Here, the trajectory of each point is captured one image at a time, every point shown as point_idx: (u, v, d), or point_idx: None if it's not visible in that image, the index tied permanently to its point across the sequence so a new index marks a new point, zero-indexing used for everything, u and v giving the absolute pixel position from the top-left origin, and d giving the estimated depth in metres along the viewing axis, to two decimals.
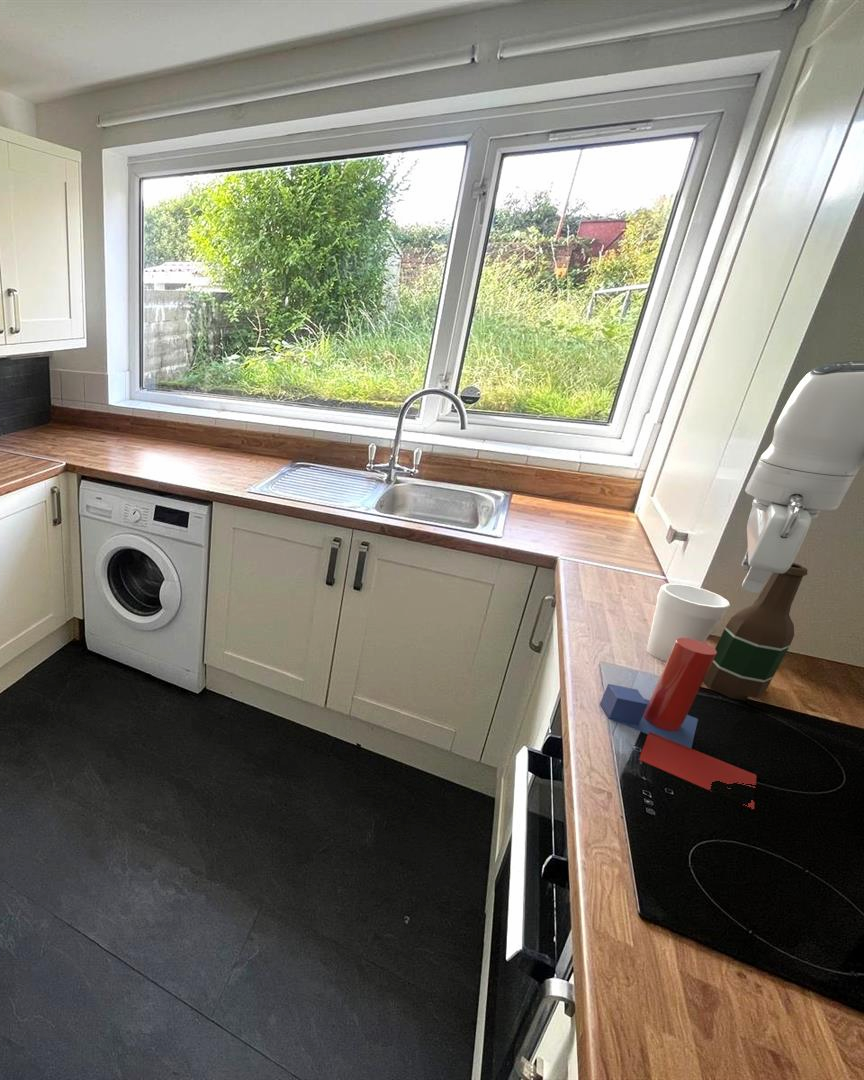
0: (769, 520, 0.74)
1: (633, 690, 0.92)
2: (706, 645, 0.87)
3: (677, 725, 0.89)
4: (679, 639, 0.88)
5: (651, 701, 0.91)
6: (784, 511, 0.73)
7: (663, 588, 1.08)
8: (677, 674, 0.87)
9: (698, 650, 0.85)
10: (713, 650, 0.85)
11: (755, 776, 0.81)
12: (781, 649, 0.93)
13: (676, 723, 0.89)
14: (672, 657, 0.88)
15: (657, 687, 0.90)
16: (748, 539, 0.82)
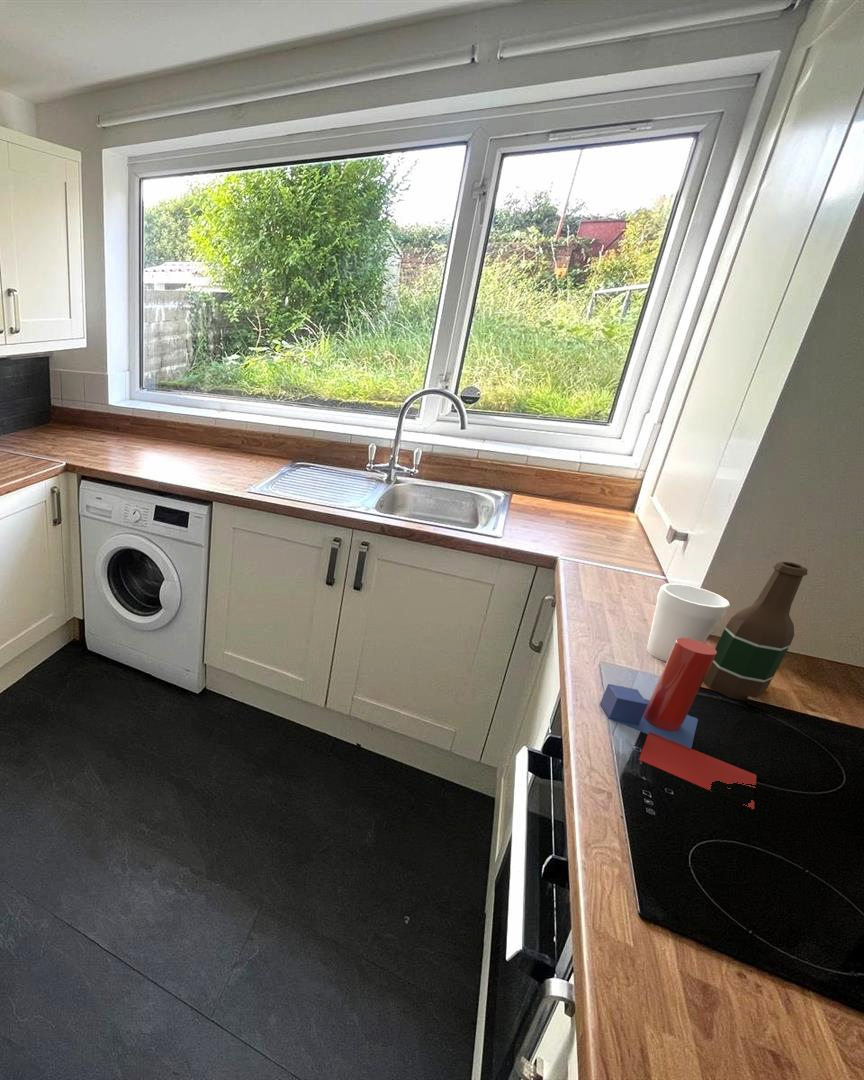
0: None
1: (633, 690, 0.92)
2: (706, 645, 0.87)
3: (677, 725, 0.89)
4: (679, 639, 0.88)
5: (651, 701, 0.91)
6: None
7: (663, 588, 1.08)
8: (677, 674, 0.87)
9: (698, 650, 0.85)
10: (713, 650, 0.85)
11: (755, 776, 0.81)
12: (781, 649, 0.93)
13: (676, 723, 0.89)
14: (672, 657, 0.88)
15: (657, 687, 0.90)
16: None
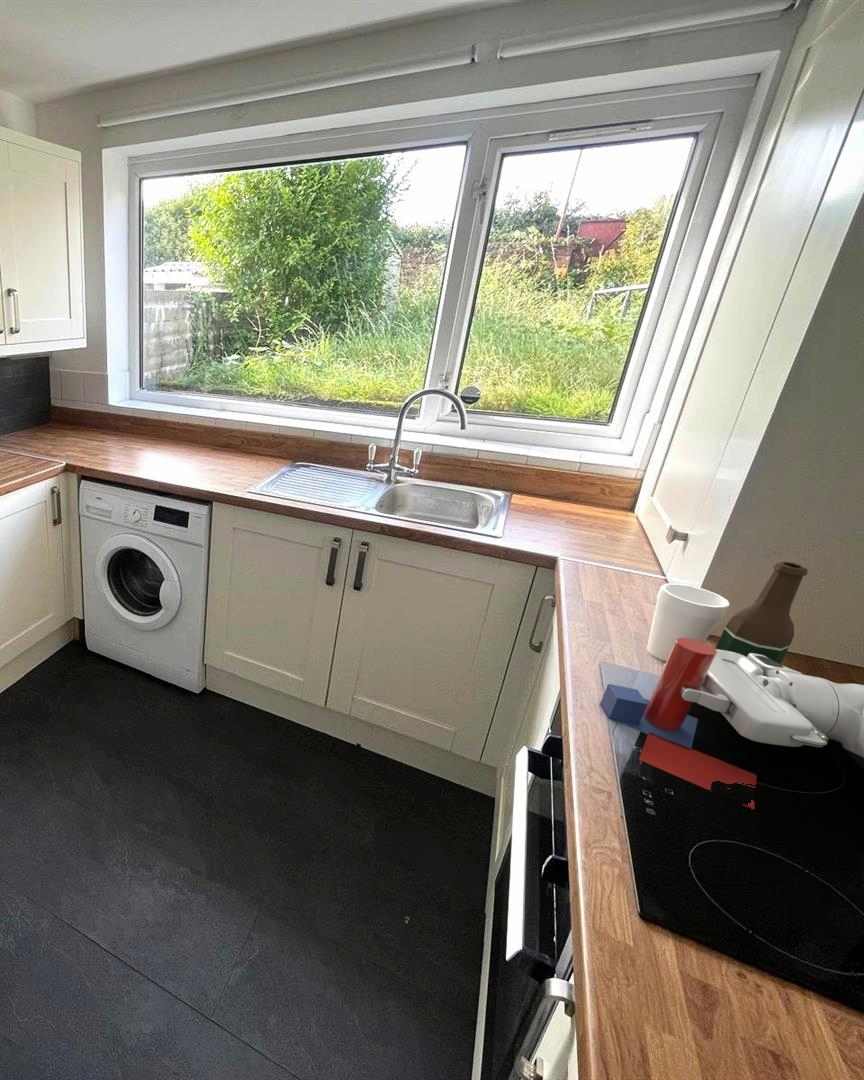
0: (806, 724, 0.78)
1: (633, 690, 0.92)
2: (706, 645, 0.87)
3: (677, 725, 0.89)
4: (679, 639, 0.88)
5: (651, 701, 0.91)
6: None
7: (663, 588, 1.08)
8: (677, 674, 0.87)
9: (698, 650, 0.85)
10: (713, 650, 0.85)
11: (755, 776, 0.81)
12: (781, 649, 0.93)
13: (676, 723, 0.89)
14: (672, 657, 0.88)
15: (657, 687, 0.90)
16: (719, 676, 0.87)
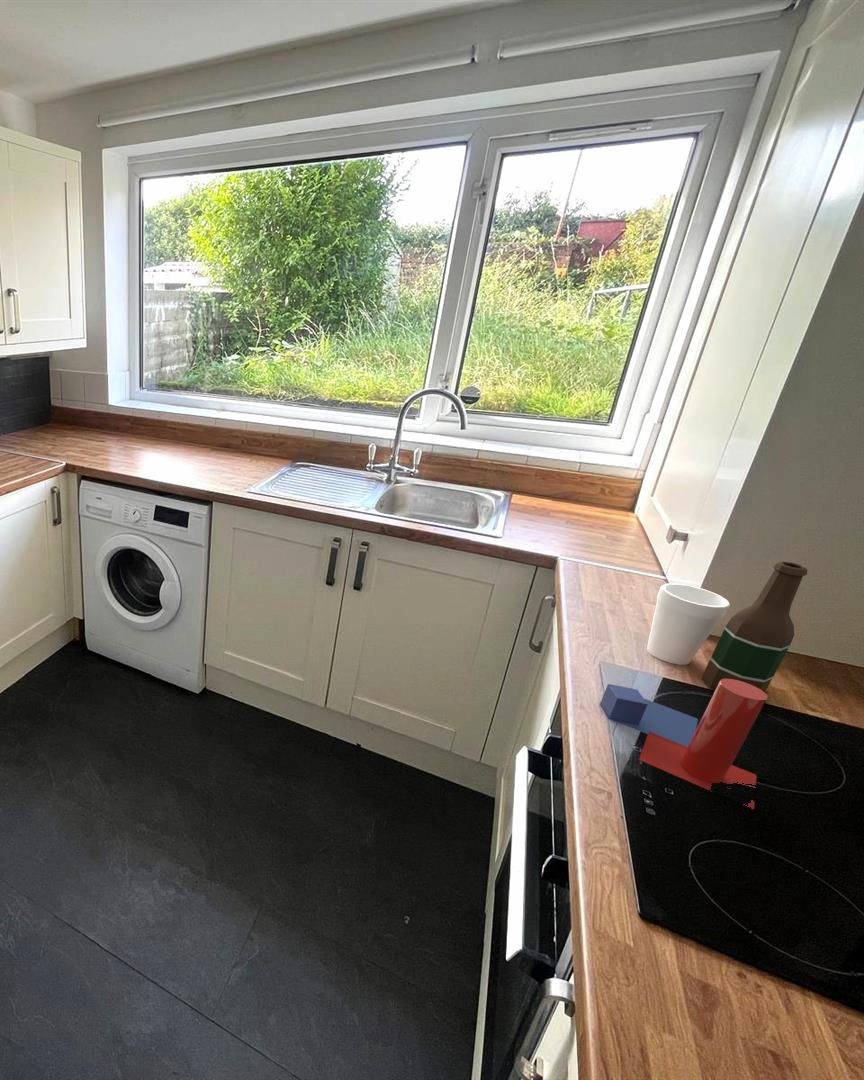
0: None
1: (633, 690, 0.92)
2: (754, 688, 0.77)
3: (720, 776, 0.79)
4: (723, 680, 0.78)
5: (690, 748, 0.81)
6: None
7: (663, 588, 1.08)
8: (721, 721, 0.77)
9: (746, 694, 0.75)
10: (763, 694, 0.76)
11: (755, 776, 0.81)
12: (781, 649, 0.93)
13: (719, 774, 0.79)
14: (715, 701, 0.78)
15: (697, 733, 0.80)
16: None
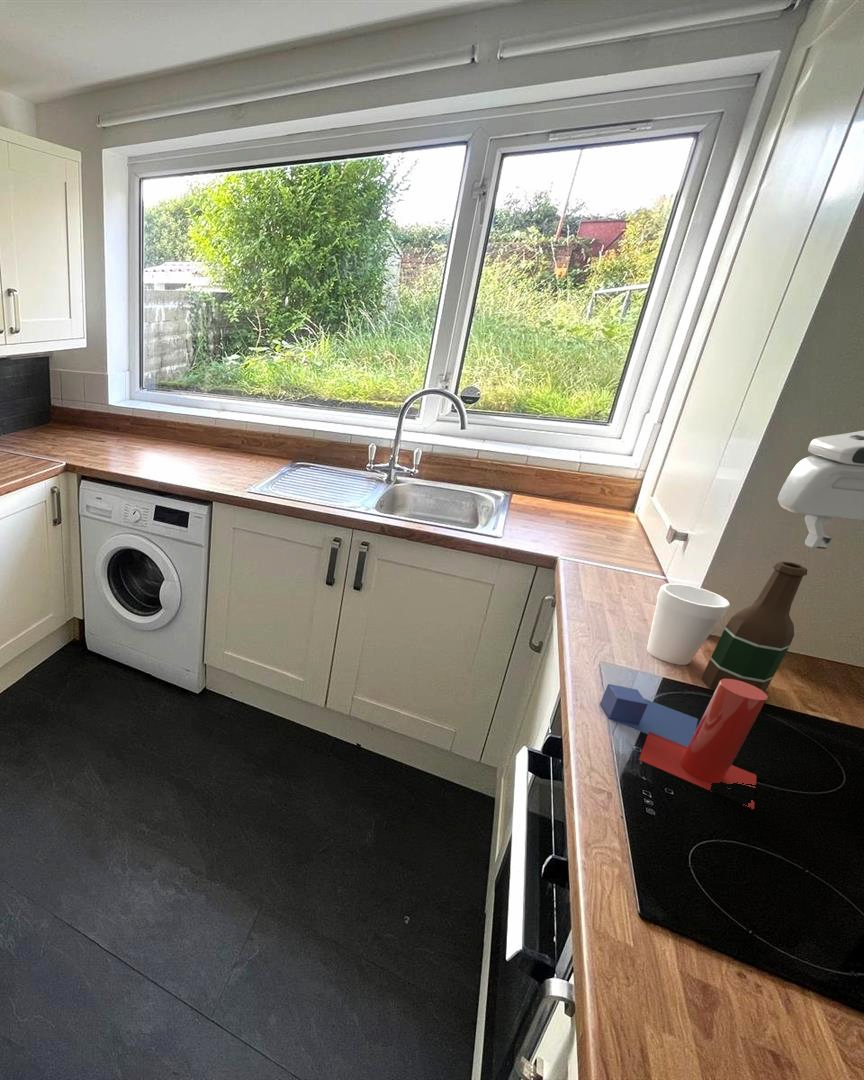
0: None
1: (633, 690, 0.92)
2: (754, 688, 0.77)
3: (720, 776, 0.79)
4: (723, 680, 0.78)
5: (690, 748, 0.81)
6: None
7: (663, 588, 1.08)
8: (721, 721, 0.77)
9: (746, 694, 0.75)
10: (763, 694, 0.76)
11: (755, 776, 0.81)
12: (781, 649, 0.93)
13: (719, 774, 0.79)
14: (715, 701, 0.78)
15: (697, 733, 0.80)
16: None
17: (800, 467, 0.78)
